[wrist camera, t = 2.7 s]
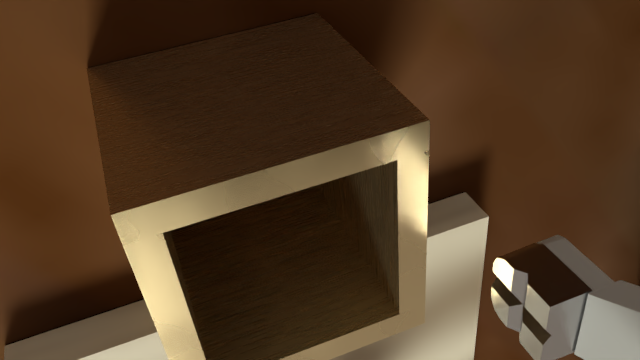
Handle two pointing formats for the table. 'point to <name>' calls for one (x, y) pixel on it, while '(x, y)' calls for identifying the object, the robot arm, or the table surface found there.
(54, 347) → the post board
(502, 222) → the table surface
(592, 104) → the table surface
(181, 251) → the tan hollow cube
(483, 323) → the table surface
